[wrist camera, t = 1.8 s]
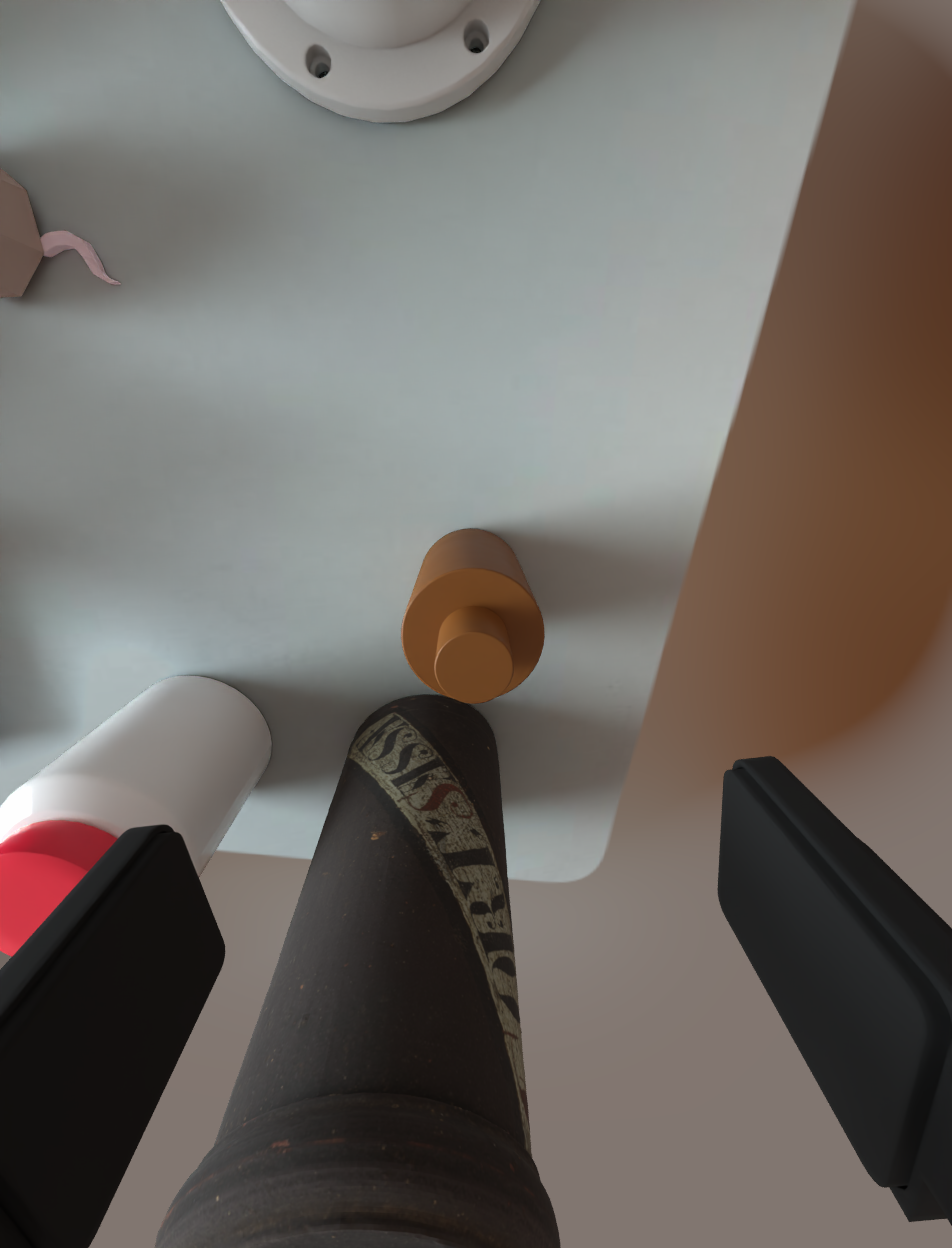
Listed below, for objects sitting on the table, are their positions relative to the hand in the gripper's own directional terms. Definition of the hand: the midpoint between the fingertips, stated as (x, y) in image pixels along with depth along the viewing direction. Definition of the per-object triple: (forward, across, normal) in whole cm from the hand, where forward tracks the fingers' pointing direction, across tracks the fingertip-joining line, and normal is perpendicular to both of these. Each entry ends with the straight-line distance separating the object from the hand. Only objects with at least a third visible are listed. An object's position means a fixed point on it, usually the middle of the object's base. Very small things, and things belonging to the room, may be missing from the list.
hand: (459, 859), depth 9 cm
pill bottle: (+18, +16, +7) cm, 24 cm away
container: (+18, +4, +10) cm, 20 cm away
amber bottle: (+17, 0, -1) cm, 17 cm away
